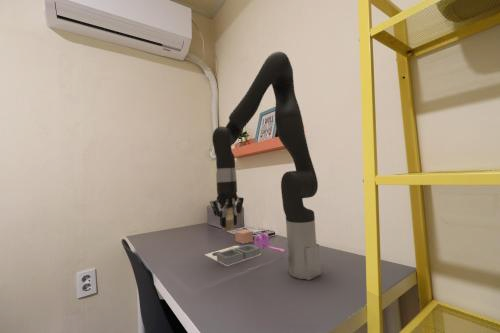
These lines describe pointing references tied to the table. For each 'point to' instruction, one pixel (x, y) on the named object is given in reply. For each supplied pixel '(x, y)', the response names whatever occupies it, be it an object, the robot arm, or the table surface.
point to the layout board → (234, 254)
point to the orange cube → (244, 236)
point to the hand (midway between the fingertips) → (228, 226)
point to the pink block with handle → (264, 242)
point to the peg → (229, 219)
